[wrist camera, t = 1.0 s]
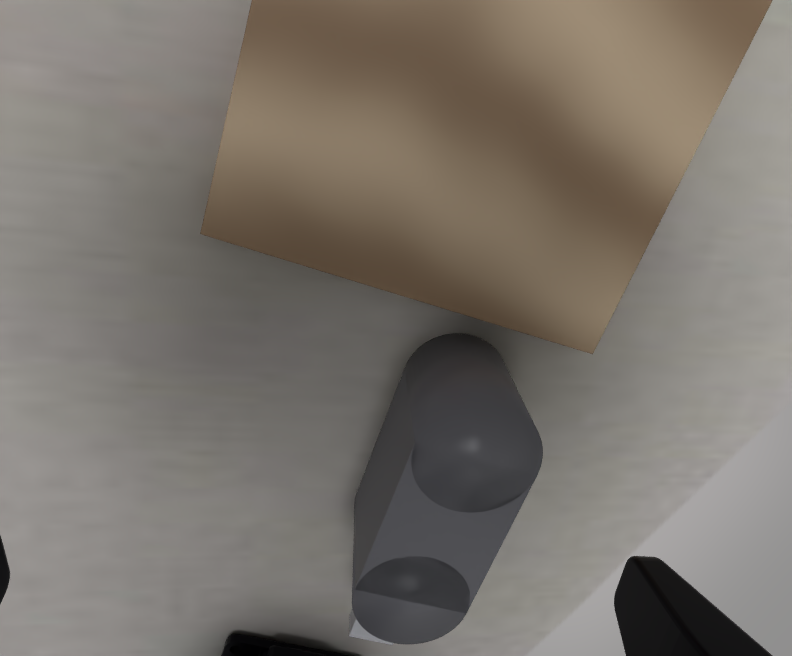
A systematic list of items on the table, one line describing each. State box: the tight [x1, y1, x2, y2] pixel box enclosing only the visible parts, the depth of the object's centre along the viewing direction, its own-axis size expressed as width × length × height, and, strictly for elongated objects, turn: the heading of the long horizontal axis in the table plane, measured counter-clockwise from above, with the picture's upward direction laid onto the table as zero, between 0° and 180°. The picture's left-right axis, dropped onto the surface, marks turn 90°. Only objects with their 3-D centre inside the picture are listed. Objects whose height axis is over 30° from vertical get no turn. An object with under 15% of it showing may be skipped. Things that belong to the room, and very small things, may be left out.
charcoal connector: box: [349, 334, 543, 645], centre depth 22 cm, size 12×4×5 cm, turn 161°
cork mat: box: [200, 0, 772, 354], centre depth 19 cm, size 12×14×1 cm
